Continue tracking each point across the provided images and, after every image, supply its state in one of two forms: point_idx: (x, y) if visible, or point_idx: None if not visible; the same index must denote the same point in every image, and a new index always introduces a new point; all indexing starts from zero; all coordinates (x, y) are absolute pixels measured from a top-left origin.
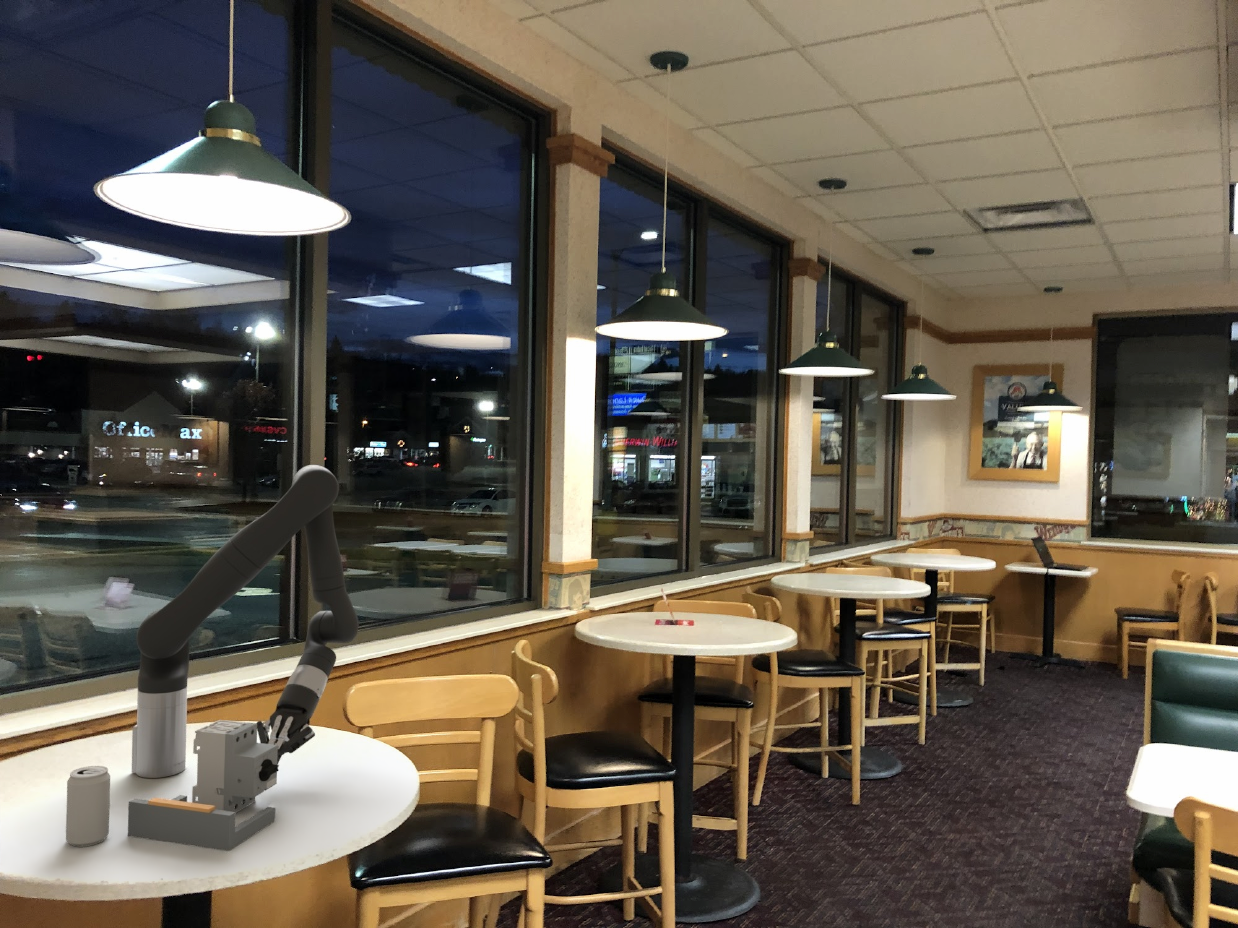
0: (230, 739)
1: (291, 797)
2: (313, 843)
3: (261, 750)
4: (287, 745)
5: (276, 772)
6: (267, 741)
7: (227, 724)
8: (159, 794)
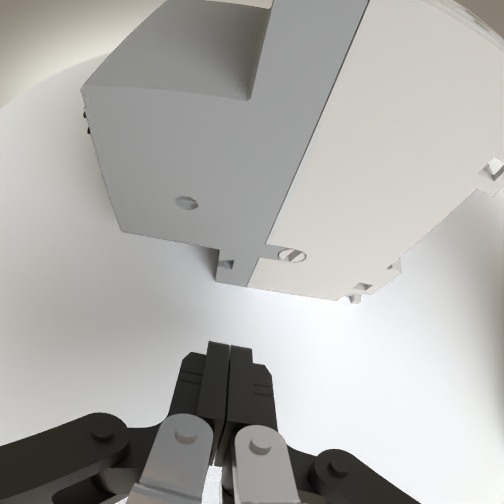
0: None
1: (99, 324)
2: (32, 95)
3: (162, 31)
4: (96, 426)
5: (112, 198)
6: (315, 493)
7: (468, 24)
8: (476, 293)
